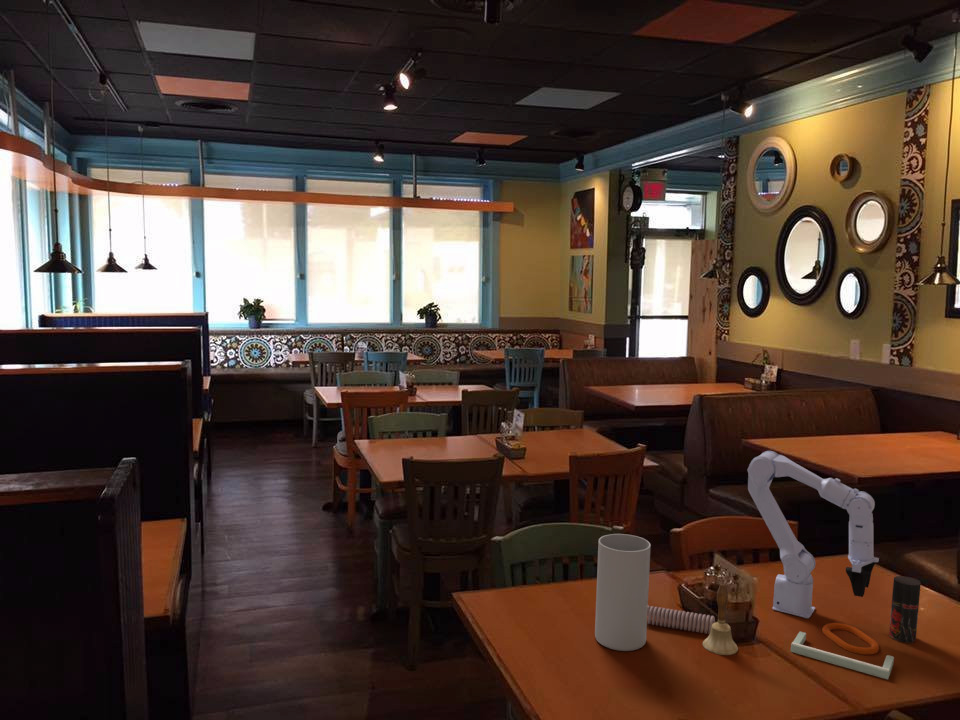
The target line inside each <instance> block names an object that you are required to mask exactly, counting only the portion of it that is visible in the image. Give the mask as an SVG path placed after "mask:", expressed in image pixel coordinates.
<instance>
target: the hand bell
mask: <svg viewBox="0 0 960 720" xmlns="http://www.w3.org/2000/svg"><path fill="white" fill-rule="evenodd" d="M728 595H729V593H728V590H727V586H726V584H725V583H719V586H718V589H717V592H716V603H717V608H718V609H717V610H718V613H717V614H718V615H717V621H715V623H713V624H712V627H711V632H710V634H708V636H707V637H706V638H705V639H703V641H702V646H703V648H704V649H705V650H706V651H708V652H710V653H712V654H716V655H719V656H721V655H722V656H732V655H735V654H736V653H738V651H739V647H738V645H737V644H736V642H735V641H734V639H733V636H732V629H731V626H730V625H729V624H728V623H726V607H727V605H728V599H729V598H728V597H729V596H728Z"/></svg>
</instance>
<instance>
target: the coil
mask: <svg viewBox="0 0 960 720" xmlns="http://www.w3.org/2000/svg"><path fill="white" fill-rule="evenodd" d="M713 623H716V618H715V616H714V615H710V614H707V615H706V614H702V613H699V614H698V613H696V612H695V613H694V612H693V611H692V612H689V611H687V612H686V611H685V610H683V611H682V610H677V609H673V608H672V609H670V608H665V607H661V606H660V607H658V606H655V607H654V606H653V605H651V606H650V605H649V604H648V611H647V625H652V626H654V625H655V626H660V627H664V628H666V627H667V628H668V629H669V628H671V629H676V630H678V629H679V630H681V631H682V630H683V631H688V632H690V631H691V632H693V633H694V632H696V633H700V634H703V633H704V634H708V635H710V632H711V627H712V624H713Z"/></svg>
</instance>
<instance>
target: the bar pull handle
mask: <svg viewBox="0 0 960 720" xmlns="http://www.w3.org/2000/svg"><path fill="white" fill-rule="evenodd" d="M806 640H807V633H806V632H803V631H799V632H798V633H797V634H796V637H795V638H794V640H793V641H792V642H791V644H790V652H791V653H795V654H798V655H799V656H800V655H801V656H804V657H807V658H811V659H815V660H819V661H822V662H824V663H825V662H826V663H829V664H833V665H835V666H839V667H843V668H846V669H850V670H853V671H856V672H860V673H863V674H866V675H871V676H874V677H877V678H881V679H884V680H889V677H890V675H891V673H892V670H893V666H894V660H895V657H894V656H892V655H888V654H887V655H886V656H885V659H884V662H883V665H882V666H879V665H875V664H872V663H868V662H865V661H861V660H858V659H854V658H850V657H846V656H844V655H840V654H837V653H832V652H829V651H825V650H822V649H818V648H815V647H811V646H807V645H806V644H805V645H804V643H805V642H806Z"/></svg>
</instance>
